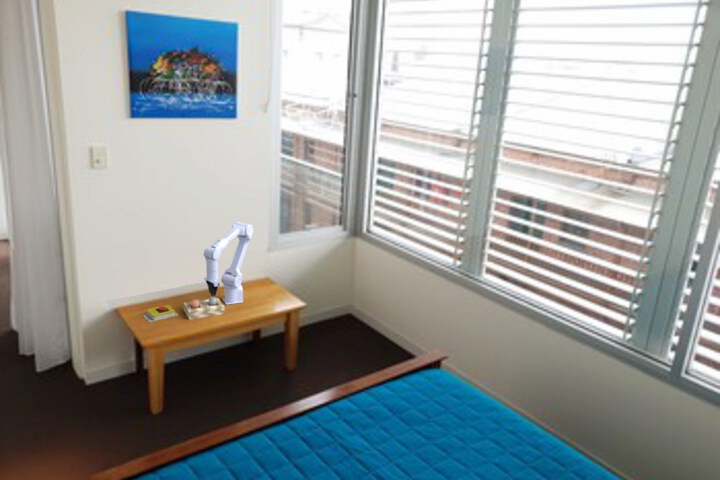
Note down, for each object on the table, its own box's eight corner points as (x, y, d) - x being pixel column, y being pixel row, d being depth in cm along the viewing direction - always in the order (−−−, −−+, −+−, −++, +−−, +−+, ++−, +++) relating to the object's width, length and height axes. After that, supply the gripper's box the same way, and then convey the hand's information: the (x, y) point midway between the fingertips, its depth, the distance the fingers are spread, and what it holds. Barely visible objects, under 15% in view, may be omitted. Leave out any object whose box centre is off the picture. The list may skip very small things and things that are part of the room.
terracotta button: (198, 305, 294) (198, 298, 293) (200, 308, 291) (200, 301, 289) (190, 307, 292) (190, 299, 291) (192, 310, 289) (192, 303, 287)
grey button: (215, 303, 298) (215, 296, 297) (217, 306, 295) (217, 299, 294) (207, 304, 296) (207, 297, 295) (209, 307, 293) (209, 300, 292)
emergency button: (178, 308, 288) (149, 315, 278) (178, 316, 289) (149, 323, 279) (170, 301, 294) (141, 308, 285) (171, 309, 296) (142, 316, 286)
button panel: (218, 304, 304) (217, 298, 302) (224, 313, 294) (224, 307, 293) (183, 309, 295) (183, 302, 294) (189, 319, 285) (189, 312, 284)
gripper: (200, 265, 293) (201, 289, 298) (208, 275, 282) (208, 300, 286) (214, 264, 297) (214, 288, 301) (222, 274, 285) (222, 298, 289)
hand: (212, 294), depth 294 cm, fingers open, 3 cm apart
